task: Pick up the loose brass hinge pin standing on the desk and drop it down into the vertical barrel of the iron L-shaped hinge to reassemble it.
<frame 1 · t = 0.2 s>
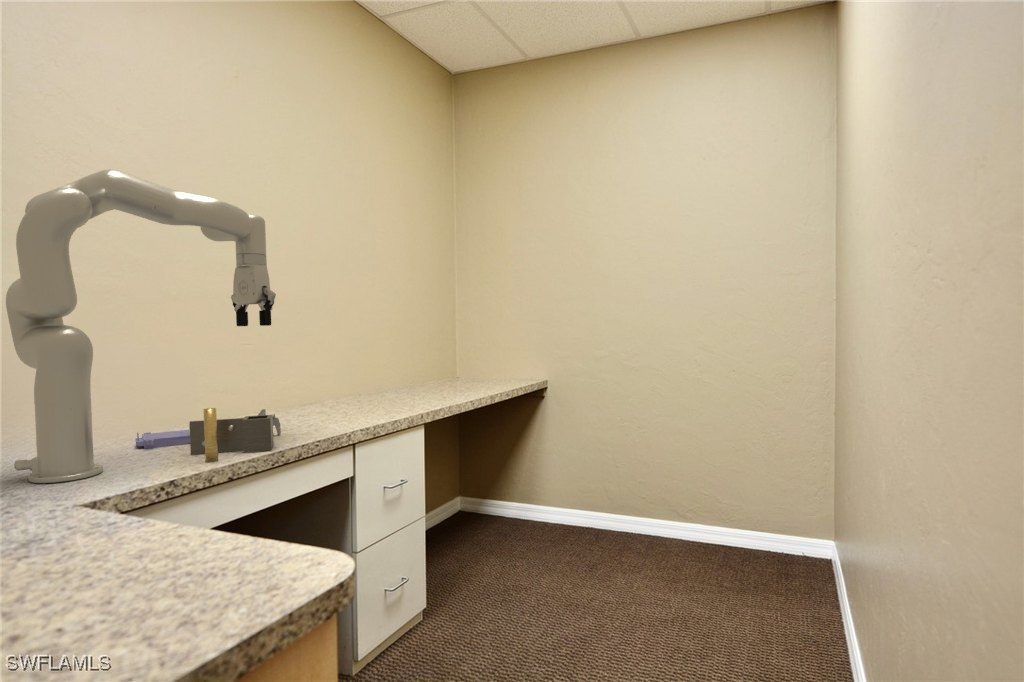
hand: (253, 325, 164), 31 cm above the countertop, tool pointing down, fingers open, 9 cm apart
hinge: (258, 449, 151), on the countertop
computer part: (200, 441, 167), on the countertop
caliper: (241, 441, 165), on the countertop
pin: (211, 461, 139), on the countertop
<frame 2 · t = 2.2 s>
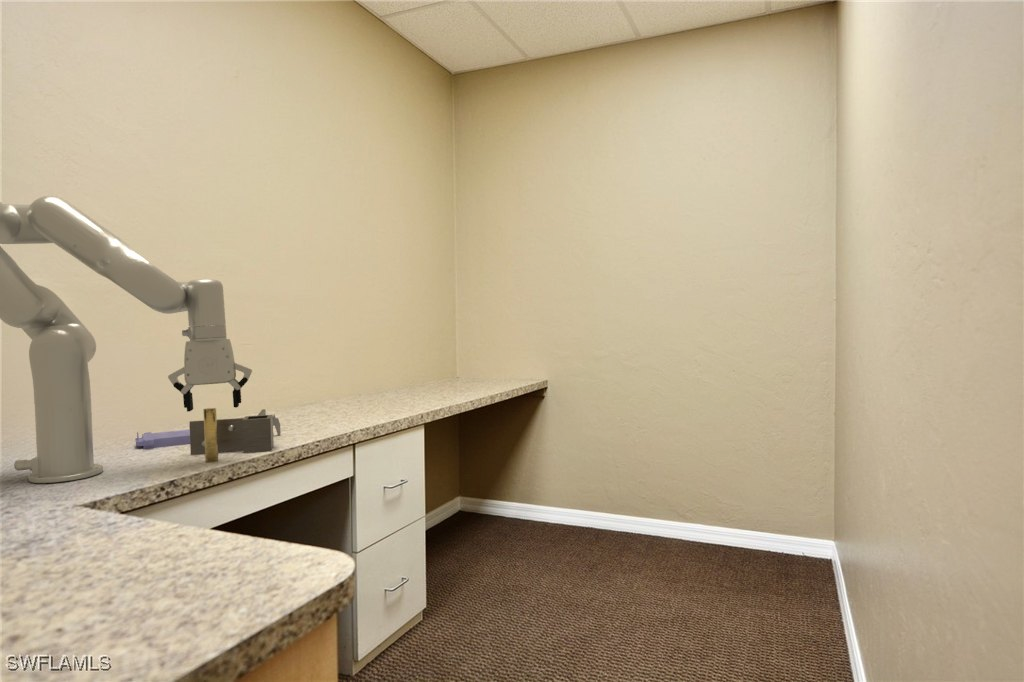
hand: (213, 408, 139), 12 cm above the countertop, tool pointing down, fingers open, 9 cm apart
nothing on the countertop moved.
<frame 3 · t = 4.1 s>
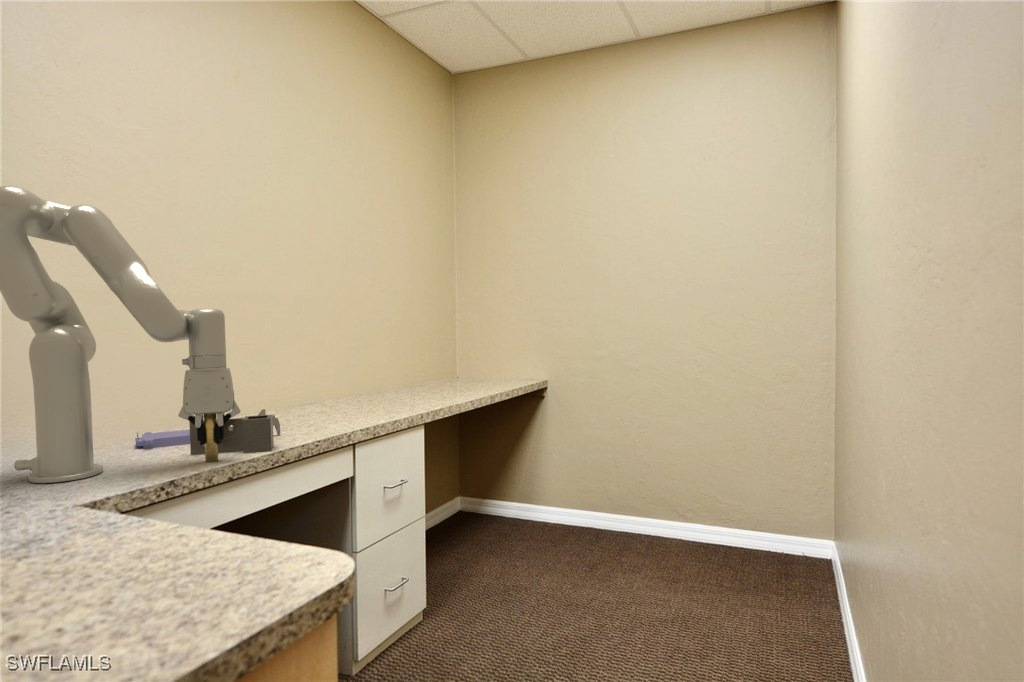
hand: (211, 442, 139), 4 cm above the countertop, tool pointing down, fingers closed on pin, 2 cm apart
pin: (211, 461, 139), on the countertop, touching gripper
everything else where it was.
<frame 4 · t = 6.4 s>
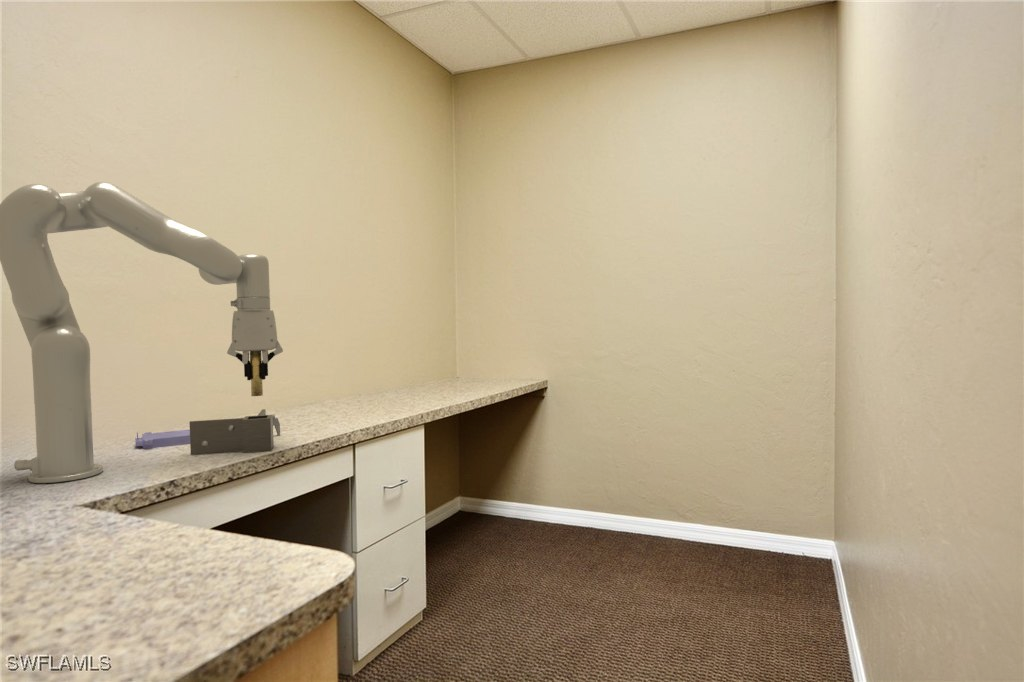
hand: (256, 378, 151), 18 cm above the countertop, tool pointing down, fingers closed on pin, 2 cm apart
pin: (257, 395, 151), point 13 cm above the countertop, touching gripper
everything else where it was.
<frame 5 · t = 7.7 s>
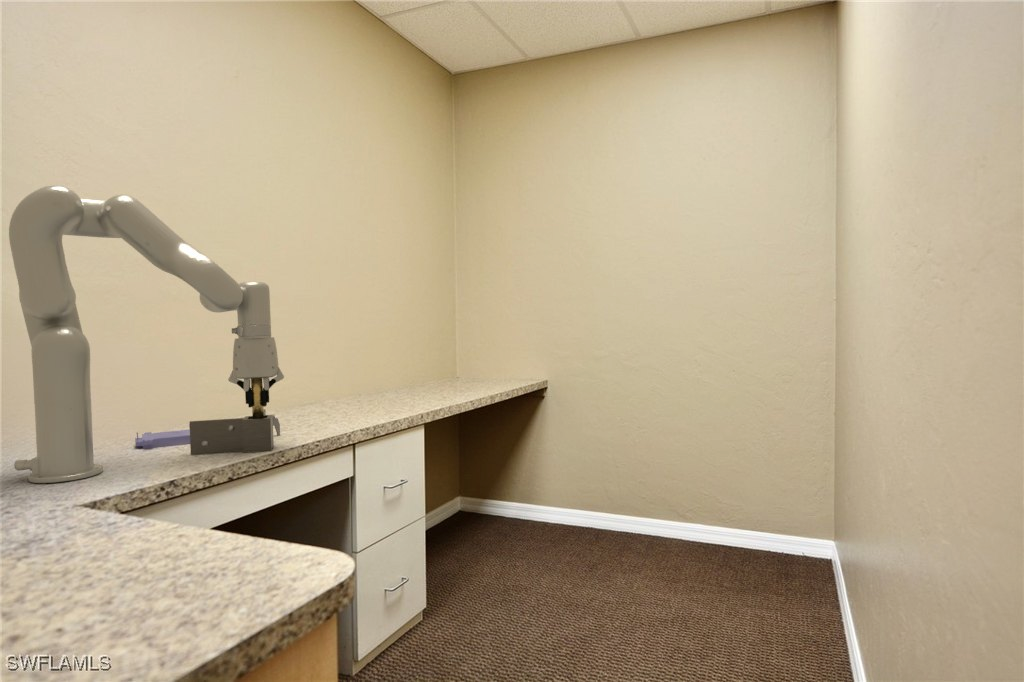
hand: (257, 405, 151), 11 cm above the countertop, tool pointing down, fingers closed on pin, 2 cm apart
pin: (258, 422, 151), point 7 cm above the countertop, touching gripper
everything else where it was.
when the fingers open (10 cm above the countertop, at t = 8.7 s): pin drops 5 cm, resting in hinge.
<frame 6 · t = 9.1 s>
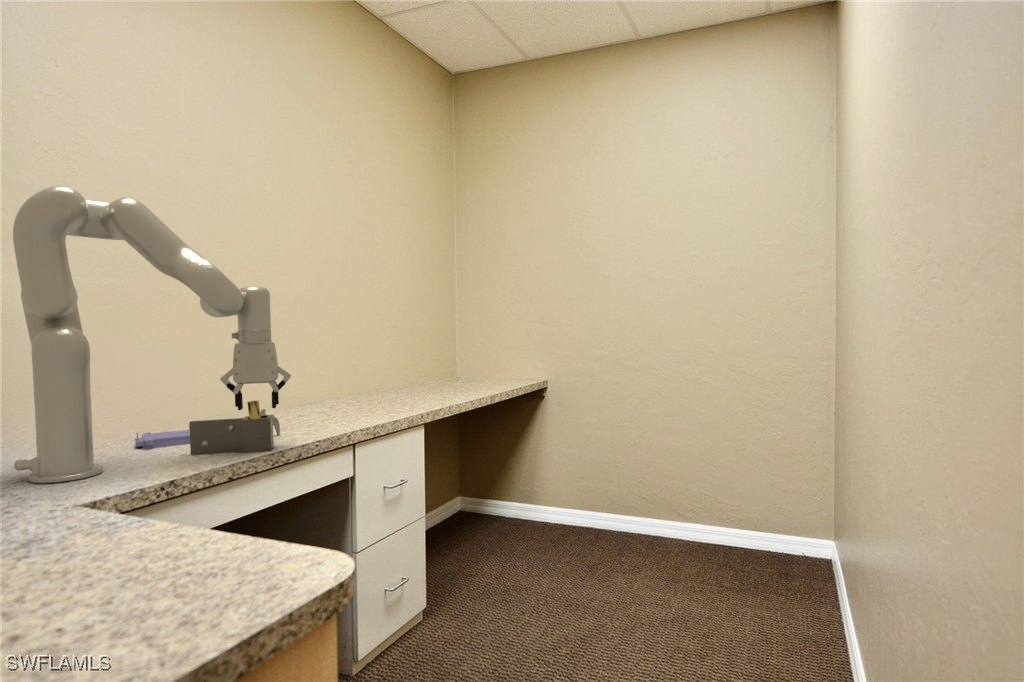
hand: (257, 408, 151), 10 cm above the countertop, tool pointing down, fingers open, 7 cm apart
pin: (258, 449, 151), resting in hinge
everything else where it was.
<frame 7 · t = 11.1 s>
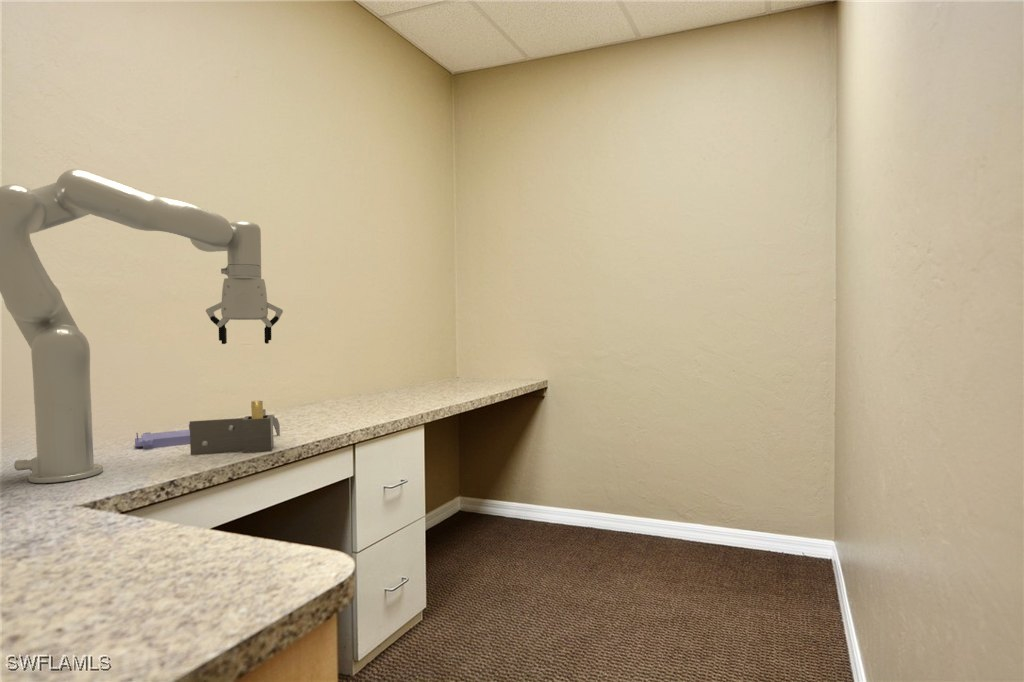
hand: (245, 343, 149), 26 cm above the countertop, tool pointing down, fingers open, 9 cm apart
nothing on the countertop moved.
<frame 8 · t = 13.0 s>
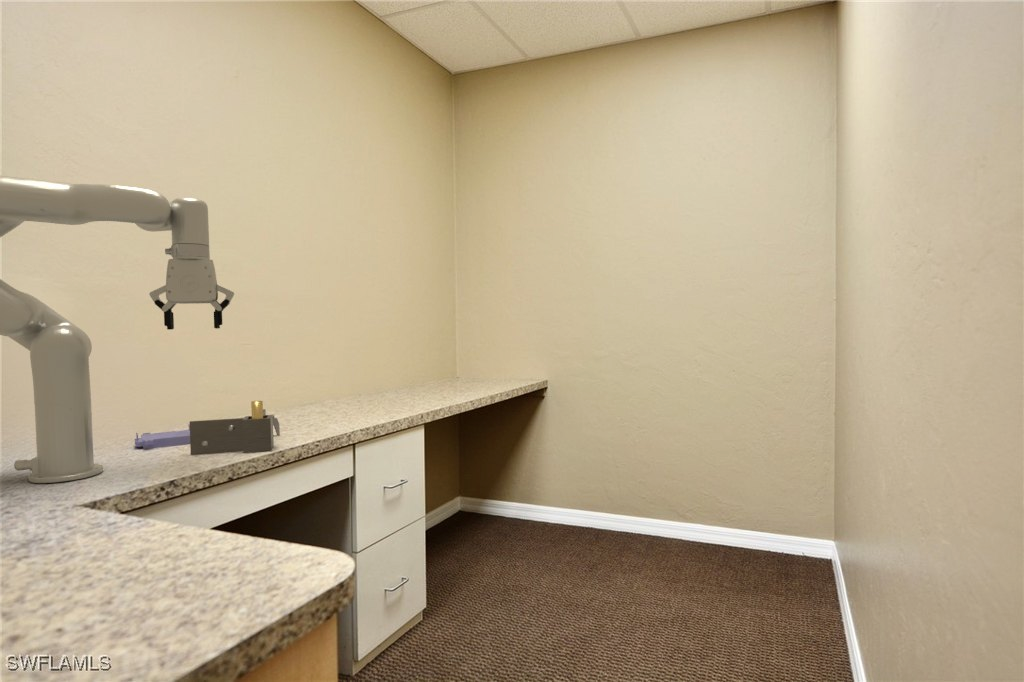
hand: (194, 328, 139), 30 cm above the countertop, tool pointing down, fingers open, 9 cm apart
nothing on the countertop moved.
at the end: pin 0.1 cm off-centre on the hinge, point 0.0 cm above the hinge's base; pin tilted 0°; the gripper is holding nothing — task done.
